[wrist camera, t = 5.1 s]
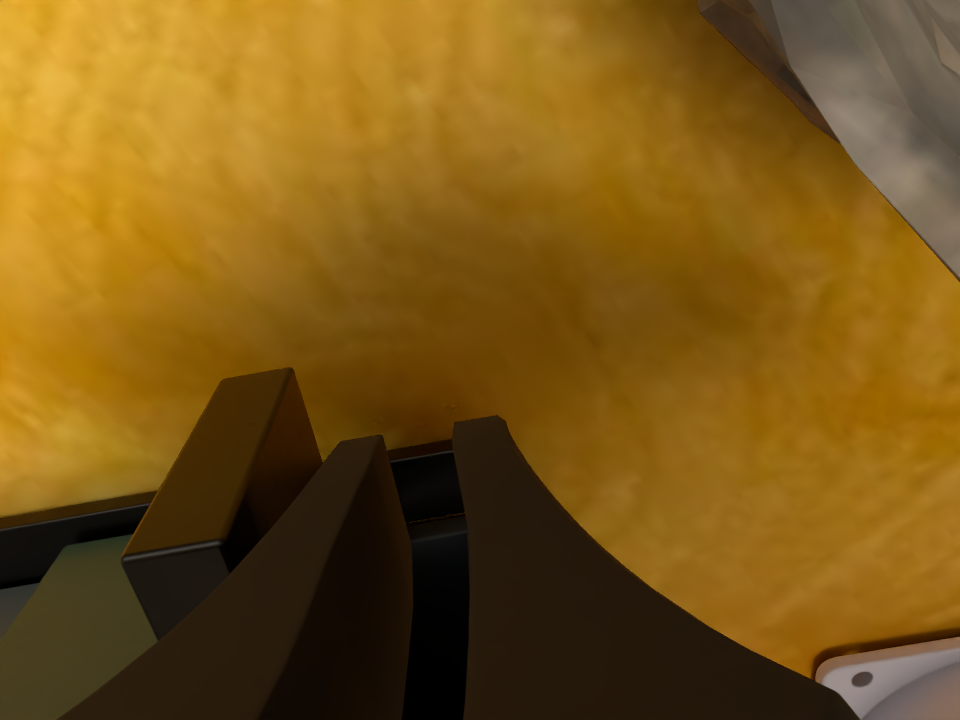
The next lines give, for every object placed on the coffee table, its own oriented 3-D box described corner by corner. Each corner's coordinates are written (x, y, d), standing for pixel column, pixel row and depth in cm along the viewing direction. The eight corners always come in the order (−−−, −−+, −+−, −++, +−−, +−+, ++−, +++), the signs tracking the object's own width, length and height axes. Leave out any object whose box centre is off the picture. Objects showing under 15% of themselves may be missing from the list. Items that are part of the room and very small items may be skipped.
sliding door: (344, 309, 14) (252, 613, 7) (399, 511, 16) (368, 902, 9) (-23, 376, 14) (-463, 733, 7) (75, 566, 16) (-198, 992, 9)
